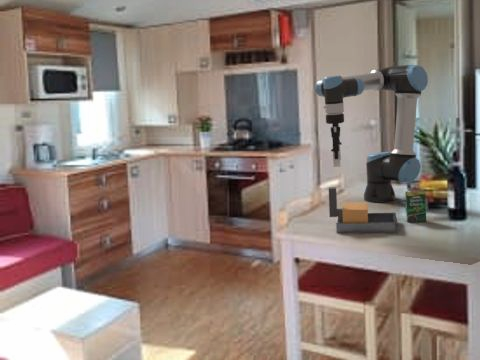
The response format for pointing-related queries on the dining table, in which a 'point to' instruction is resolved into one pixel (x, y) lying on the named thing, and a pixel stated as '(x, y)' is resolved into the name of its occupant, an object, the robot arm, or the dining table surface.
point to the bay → (370, 224)
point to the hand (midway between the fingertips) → (337, 163)
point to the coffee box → (415, 206)
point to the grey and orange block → (348, 209)
